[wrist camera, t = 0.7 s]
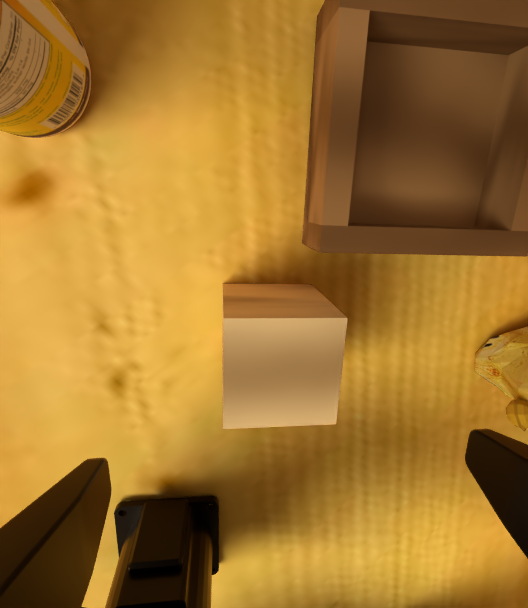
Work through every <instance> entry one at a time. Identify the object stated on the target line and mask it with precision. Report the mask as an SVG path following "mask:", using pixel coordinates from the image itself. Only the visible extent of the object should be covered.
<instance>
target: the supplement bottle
mask: <svg viewBox="0 0 528 608" xmlns="http://www.w3.org/2000/svg"><path fill="white" fill-rule="evenodd" d="M90 91H91V70H90V64H89V60H88V57H87V53H86V50H85V48H84V46H83V43H82V41H81V39H80V37H79V36H78V34H77V32H76V31H75V29H74V28H73V26H72V25H71V24H70V22H69V21H68V20H67V19H66V17H65V16H64V15H63V14H62V13H61V12H60V10H59V9H58V8H57V7H56V6H55V5H54V4H53V2H52V1H51V0H0V130H1V131H4V132H7V133H11V134H14V135H18V136H23V137H31V138H41V137H49V136H53V135H56V134H59V133H61V132H63V131H65V130H66V129H68V128H69V127H71V126H72V125H73V124H74V123H75V122H76V121H77V120H78V119H79V118H80V116H81V115H82V113H83V112H84V110H85V108H86V105H87V103H88V100H89V96H90Z"/></svg>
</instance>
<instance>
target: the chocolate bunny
mask: <svg viewBox="0 0 528 608" xmlns="http://www.w3.org/2000/svg"><path fill="white" fill-rule="evenodd" d="M475 372H477V373H478V374H479V375H481V376H482V377H483V378H485V379H486V380H487V381H489V382H491V383H492V384H494V385H495V386H497V387H498V388H499V389H500V390H502V391H503V392H504V393H505V394H506V395H507V396H509V397H512V398H514V399H515V400H512V401H511V402H510V403H509V405H508V406H507V408H506V415H507V417H508V419H509V420H510V421H511V422H512V423H513V424H514V425H515V426H516V427H519V428H521V429H522V430H523V431H525V430H526V428H528V327H524V328H521V329H517V330H514V331H510V332H507V333H504V334H501V335H498V336H495V337H493V338H490V339H489V340H488V341H487V342H486V343H485V344H484V345H483V346H482V347H481V348H480V349H479V350H478V351H477V352H476V358H475Z"/></svg>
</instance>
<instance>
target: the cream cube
mask: <svg viewBox="0 0 528 608" xmlns="http://www.w3.org/2000/svg"><path fill="white" fill-rule="evenodd" d="M347 319H348V318H347V317H346V316H345V315H344V314H343V313H342V312H341V311H340V310H339V309H338V308H336V307H335V306H334V305H333V304H332V303H331V302H330V301H329V300H328V299H327V298H326V297H325V296H324V295H322V294H321V293H320V292H319V291H318V290H317V289H316V288H315V287H314V286H313V285H312V284H223V429H238V428H261V427H284V426H307V425H331V424H336V421H337V411H338V402H339V393H340V384H341V375H342V365H343V356H344V347H345V338H346V329H347Z"/></svg>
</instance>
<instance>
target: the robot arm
mask: <svg viewBox="0 0 528 608" xmlns="http://www.w3.org/2000/svg"><path fill="white" fill-rule="evenodd" d="M465 461H466V464H467V467H468V468H469V470H470V472H471V473H472V475H473V477H474V478H475V480H476V481H477V483H478V485H479V486H480V488H481V490H482V491H483V493H484V494H485V496H486V498H487V499H488V501H489V503H490V504H491V506H492V507H493V509H494V511H495V512H496V514H497V516H498V517H499V519H500V520H501V522H502V523H503V525H504V526H505V528H506V529H507V531H508V532H509V533H510V535H511V536H512V538H513V539H514V540H515V542H516V543H517V545H518V546H519V547H520V549H521V550H522V551H523V553H524V554H525V555H526V557H527V558H528V445H527V444H524V443H522V442H520V441H517V440H515V439H512V438H510V437H507V436H505V435H502V434H500V433H498V432H495V431H493V430H490V429H475V430H472V431H471V432H470V434H469V438H468V443H467V449H466V454H465ZM110 498H111V482H110V474H109V466H108V462H107V459H105V458H93V459H87V460H85V461H84V462H83V463H81V464H80V465H79V466H78V467H76V468H75V469H74V470H73V471H71V472H70V473H69V474H68V475H66V476H65V477H64V478H63V479H61V480H60V481H59V482H58V483H56V484H55V485H54V486H53V487H51V488H50V489H49V490H48V491H46V492H45V493H44V494H43V495H41V496H40V497H39V498H38V499H36V500H35V501H34V502H32V503H31V504H30V505H29V506H27V507H26V508H25V509H24V510H22V511H21V512H20V513H19V514H17V515H16V516H15V517H14V518H12V519H11V520H10V521H9V522H7V523H6V524H5V525H4V526H2V527H1V528H0V608H85V607H81V606H82V603H83V600H84V597H85V594H86V591H87V588H88V585H89V582H90V579H91V576H92V573H93V569H94V565H95V561H96V557H97V553H98V549H99V545H100V540H101V536H102V532H103V528H104V524H105V519H106V515H107V511H108V507H109V503H110ZM209 504H213V505H209ZM122 510H125V511H122ZM114 516H115V525H116V534H117V543H118V552H119V561H118V565H117V568H116V572H115V575H114V579H113V582H112V586H111V589H110V593H109V596H108V600H107V603H106V607H105V608H211V582H212V575H214V574H216V573H217V572H218V570H219V501H218V499H217V497H215V496H201V497H186V498H171V499H156V500H141V501H126V502H120V503H119V504H118V505H117V506H116V509H115V512H114Z"/></svg>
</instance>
